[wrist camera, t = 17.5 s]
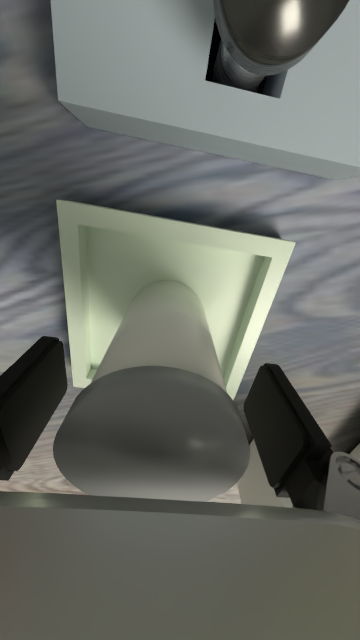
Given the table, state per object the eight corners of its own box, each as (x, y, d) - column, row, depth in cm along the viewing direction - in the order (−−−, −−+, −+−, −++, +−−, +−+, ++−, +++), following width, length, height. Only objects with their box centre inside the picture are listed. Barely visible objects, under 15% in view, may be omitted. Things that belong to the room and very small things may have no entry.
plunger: (287, 26, 9) (414, -179, 4) (260, 132, 11) (329, 70, 6) (207, 4, 9) (245, -246, 4) (191, 116, 11) (204, 37, 6)
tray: (281, 238, 14) (295, 242, 12) (227, 387, 19) (232, 402, 18) (71, 200, 12) (56, 199, 11) (82, 371, 18) (73, 386, 17)
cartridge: (214, 282, 14) (277, 403, 5) (199, 353, 17) (225, 512, 8) (126, 272, 14) (36, 383, 5) (126, 346, 16) (65, 505, 7)
